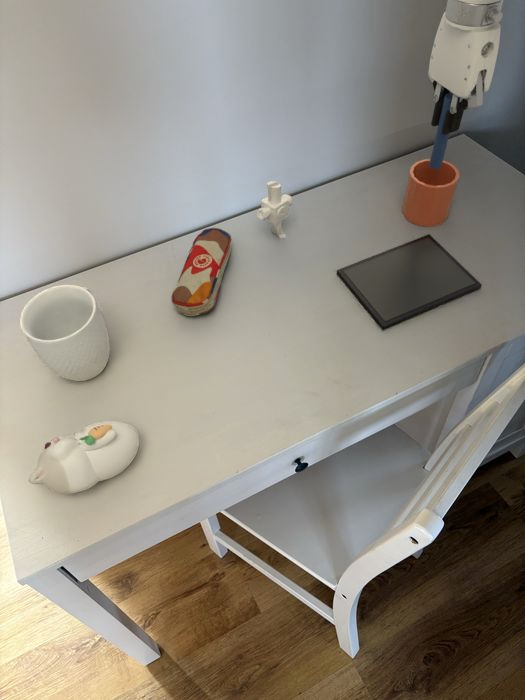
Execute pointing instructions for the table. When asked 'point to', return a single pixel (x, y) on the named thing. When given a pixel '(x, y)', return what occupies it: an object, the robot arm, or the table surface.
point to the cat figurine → (86, 457)
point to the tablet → (407, 281)
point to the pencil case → (202, 273)
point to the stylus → (440, 136)
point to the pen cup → (429, 193)
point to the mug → (67, 331)
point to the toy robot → (275, 208)
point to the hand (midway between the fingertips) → (444, 126)
